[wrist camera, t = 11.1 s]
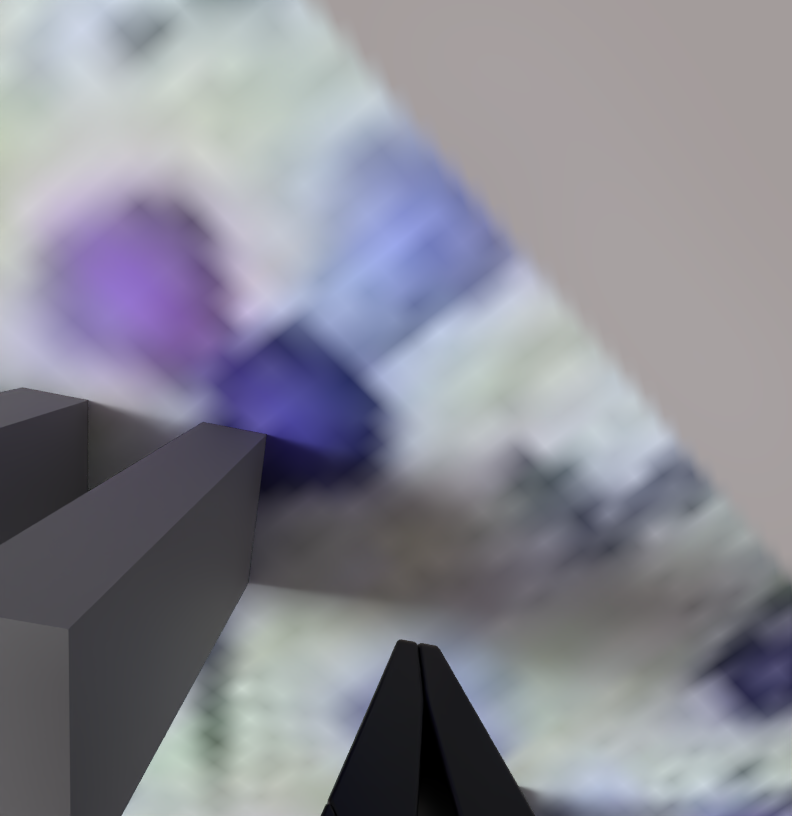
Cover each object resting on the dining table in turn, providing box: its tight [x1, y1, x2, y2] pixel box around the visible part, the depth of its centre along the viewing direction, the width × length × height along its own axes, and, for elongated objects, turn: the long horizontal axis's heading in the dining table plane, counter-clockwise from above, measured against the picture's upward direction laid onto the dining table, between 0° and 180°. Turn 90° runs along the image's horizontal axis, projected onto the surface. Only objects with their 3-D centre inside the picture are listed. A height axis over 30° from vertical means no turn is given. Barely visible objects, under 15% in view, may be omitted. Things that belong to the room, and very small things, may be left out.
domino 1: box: [0, 422, 267, 816], centre depth 9 cm, size 2×5×7 cm, turn 169°
